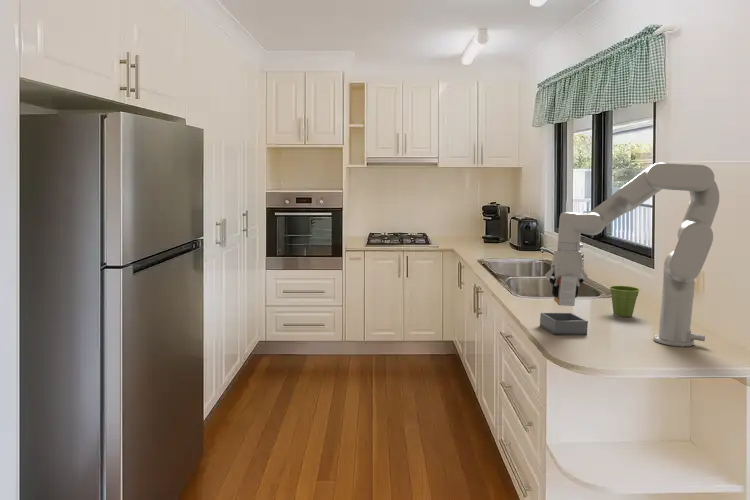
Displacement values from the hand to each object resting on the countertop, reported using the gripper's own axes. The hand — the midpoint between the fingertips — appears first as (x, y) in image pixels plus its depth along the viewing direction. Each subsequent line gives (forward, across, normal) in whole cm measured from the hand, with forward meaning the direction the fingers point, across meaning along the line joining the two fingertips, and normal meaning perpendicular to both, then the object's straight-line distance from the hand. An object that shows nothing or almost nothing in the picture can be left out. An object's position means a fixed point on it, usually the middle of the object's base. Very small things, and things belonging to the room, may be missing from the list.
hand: (564, 296), depth 222 cm
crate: (+13, 0, 0) cm, 13 cm away
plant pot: (+13, -37, -24) cm, 46 cm away
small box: (+3, 0, 0) cm, 3 cm away
